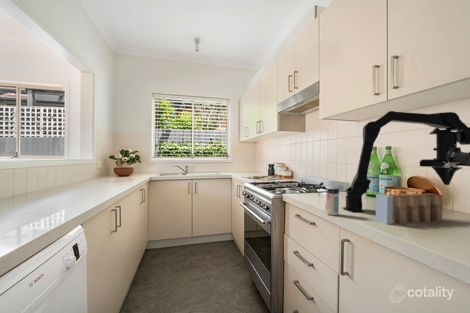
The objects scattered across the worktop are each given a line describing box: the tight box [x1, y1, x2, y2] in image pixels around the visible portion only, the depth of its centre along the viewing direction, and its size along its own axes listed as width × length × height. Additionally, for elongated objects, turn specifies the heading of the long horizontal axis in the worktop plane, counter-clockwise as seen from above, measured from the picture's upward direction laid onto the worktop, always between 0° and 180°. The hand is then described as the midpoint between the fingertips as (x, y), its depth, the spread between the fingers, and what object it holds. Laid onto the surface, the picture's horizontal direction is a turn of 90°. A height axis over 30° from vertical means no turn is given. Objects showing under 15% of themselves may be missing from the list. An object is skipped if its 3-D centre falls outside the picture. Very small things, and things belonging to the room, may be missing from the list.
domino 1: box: [387, 193, 406, 225], centre depth 81 cm, size 5×2×10 cm, turn 10°
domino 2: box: [400, 193, 419, 224], centre depth 81 cm, size 5×2×10 cm, turn 10°
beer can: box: [325, 184, 340, 217], centre depth 89 cm, size 5×5×12 cm
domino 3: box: [411, 192, 431, 223], centre depth 82 cm, size 5×2×10 cm, turn 10°
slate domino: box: [375, 193, 393, 225], centre depth 80 cm, size 5×2×10 cm, turn 10°
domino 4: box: [423, 192, 444, 223], centre depth 83 cm, size 5×2×10 cm, turn 10°
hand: (446, 184), depth 84 cm, fingers closed
